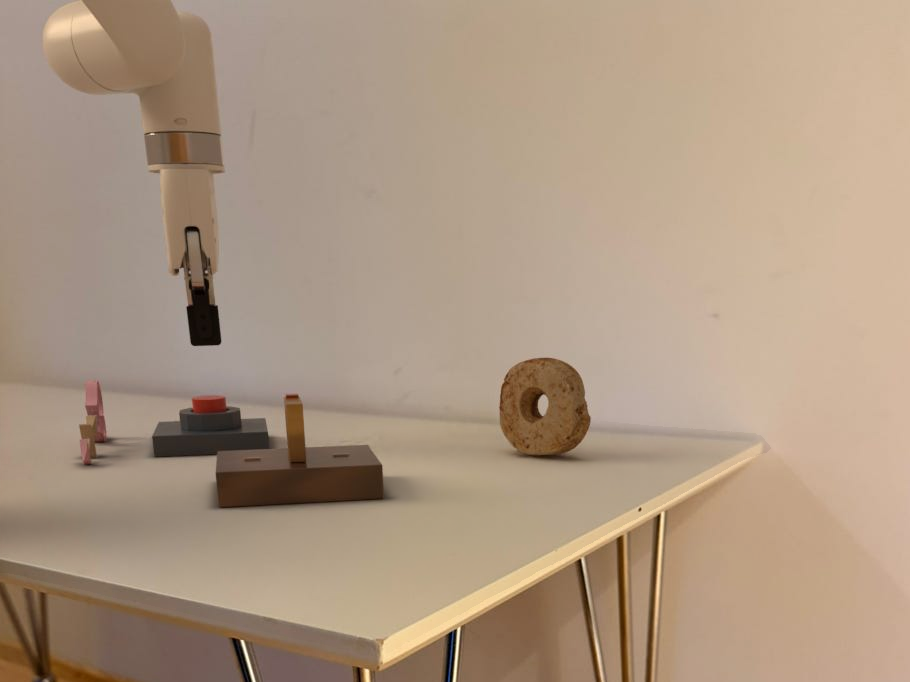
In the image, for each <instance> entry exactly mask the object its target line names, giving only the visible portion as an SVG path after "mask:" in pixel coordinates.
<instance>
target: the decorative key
mask: <svg viewBox="0 0 910 682" xmlns="http://www.w3.org/2000/svg"><path fill="white" fill-rule="evenodd" d="M84 386H85V388H84V389H85V403H84V407H85V410H86V414H87V415H85V421H86V423H81V424H78V426H79V433H80V439H79V445H80V453H81V459H82V463H83V465H92V459H98V455H97V449H96V442H97V443H99V442H100V443H101V442H107V425H106V419H105V415H104V401H103V394H102V389H101V385H100V381H99V380H86V381H85V385H84Z"/></svg>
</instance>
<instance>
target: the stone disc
mask: <svg viewBox="0 0 910 682" xmlns="http://www.w3.org/2000/svg"><path fill="white" fill-rule="evenodd" d="M500 387H501V388H500V395H499V407H498V408H499V426H500V429H501V432H502V434H503V436H504V437H505V439H506V440H507V441H508V443H509V445H510V446H512V447H513V448H514V449H515V450H517V451H518V452H520V453H521V454H525V455H529V456H557V455H562V454H566V453H568V452H571V451H573V450H574V449H575V448H576V447H578V446H579V445H580V444H581V443H582V441H583V440H584V439H585V437H586V435H587V433H588V431H589V429H590V427H591V426H590V425H591V421H592V420H591V419H592V417H591V415H590V414H589V413H590V412H589V410H588V402H587V401H586V390H585V385H584V381H583V379H582V376H581V375H580V373H579V372H578V370H576V369H575V368H574V367H573V366H572V365H571V364H569V363H568V362H566V361H563V360H561V359H558V358H554V357H535V358H530V359H526V360H522V361H520V362H518V363H516V364H515V365H513V366H511V368H510V369H509V370H508V372H507V373H506V374H505V376H504V378H503V383H502V384H501V386H500ZM542 396H545V397H546V399H547V402H548V403H547V408H546V411H545V414H543V415H542V414H541V413H540V410H539V400H540V399H541V397H542Z"/></svg>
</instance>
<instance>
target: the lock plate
mask: <svg viewBox="0 0 910 682" xmlns="http://www.w3.org/2000/svg"><path fill="white" fill-rule="evenodd" d="M305 447H306V462H290V459H289V454H288V447H285V448H284V447H283V448H280V447H279V448H269V449H257V450H233V451H218V452H217V454H216V462H215V463H216V464H215V482H216V492H217V501H218V502H217V503H218V507H219V508H234V507H235V508H237V507H251V506H252V507H253V506H270V505H271V506H272V505H289V504H290V505H291V504H304V503H305V504H307V503H326V502H344V501H345V502H346V501H363V500H382V499H384V498H385V497H384V495H385V494H384V473H383V472H384V470H383V469H384V468H383V464H382V462H381V461H380V460H379V458H378V456H377V455H376V454H375V453H374V451H373V450H372V448H371V447H370V446H369V444H354V445H353V444H352V445H336V446H335V445H329V446H328V445H327V446H305Z"/></svg>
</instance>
